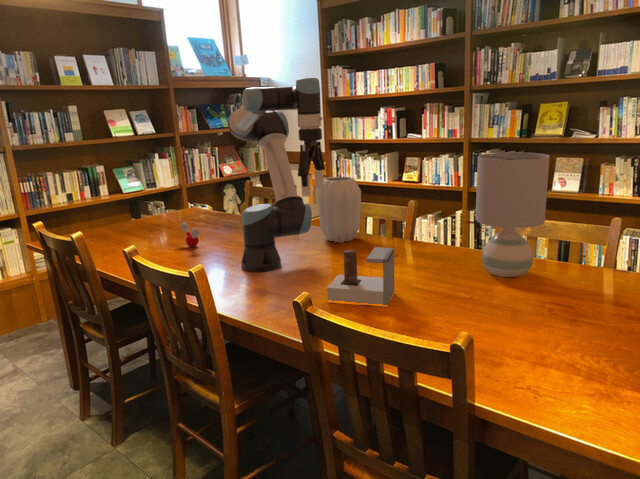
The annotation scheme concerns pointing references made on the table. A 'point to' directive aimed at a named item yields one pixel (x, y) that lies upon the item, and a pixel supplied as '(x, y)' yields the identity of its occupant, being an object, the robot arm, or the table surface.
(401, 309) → the table surface
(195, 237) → the molecular model
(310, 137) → the robot arm
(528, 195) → the lamp
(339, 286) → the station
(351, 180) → the vase
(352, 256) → the dowel
